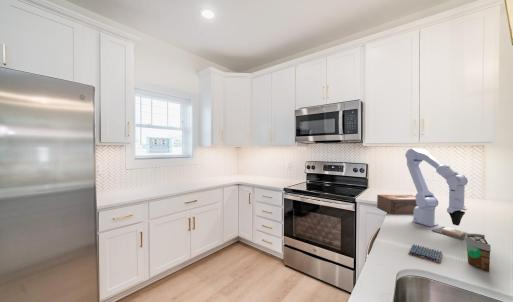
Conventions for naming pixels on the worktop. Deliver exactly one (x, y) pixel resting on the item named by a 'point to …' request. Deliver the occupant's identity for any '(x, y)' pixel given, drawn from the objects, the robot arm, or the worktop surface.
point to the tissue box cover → (396, 203)
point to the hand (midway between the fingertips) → (455, 224)
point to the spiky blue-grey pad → (426, 253)
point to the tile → (453, 231)
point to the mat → (439, 230)
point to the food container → (478, 251)
